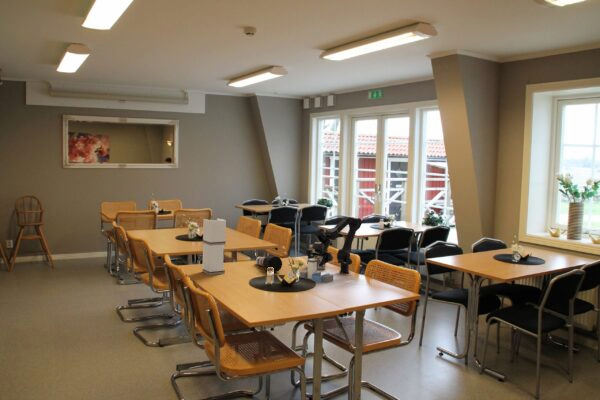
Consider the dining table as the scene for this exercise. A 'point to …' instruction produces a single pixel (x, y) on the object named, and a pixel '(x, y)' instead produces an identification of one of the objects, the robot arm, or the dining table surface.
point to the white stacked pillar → (213, 246)
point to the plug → (312, 267)
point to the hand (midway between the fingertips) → (313, 265)
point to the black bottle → (270, 262)
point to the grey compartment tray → (317, 276)
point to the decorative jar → (317, 257)
